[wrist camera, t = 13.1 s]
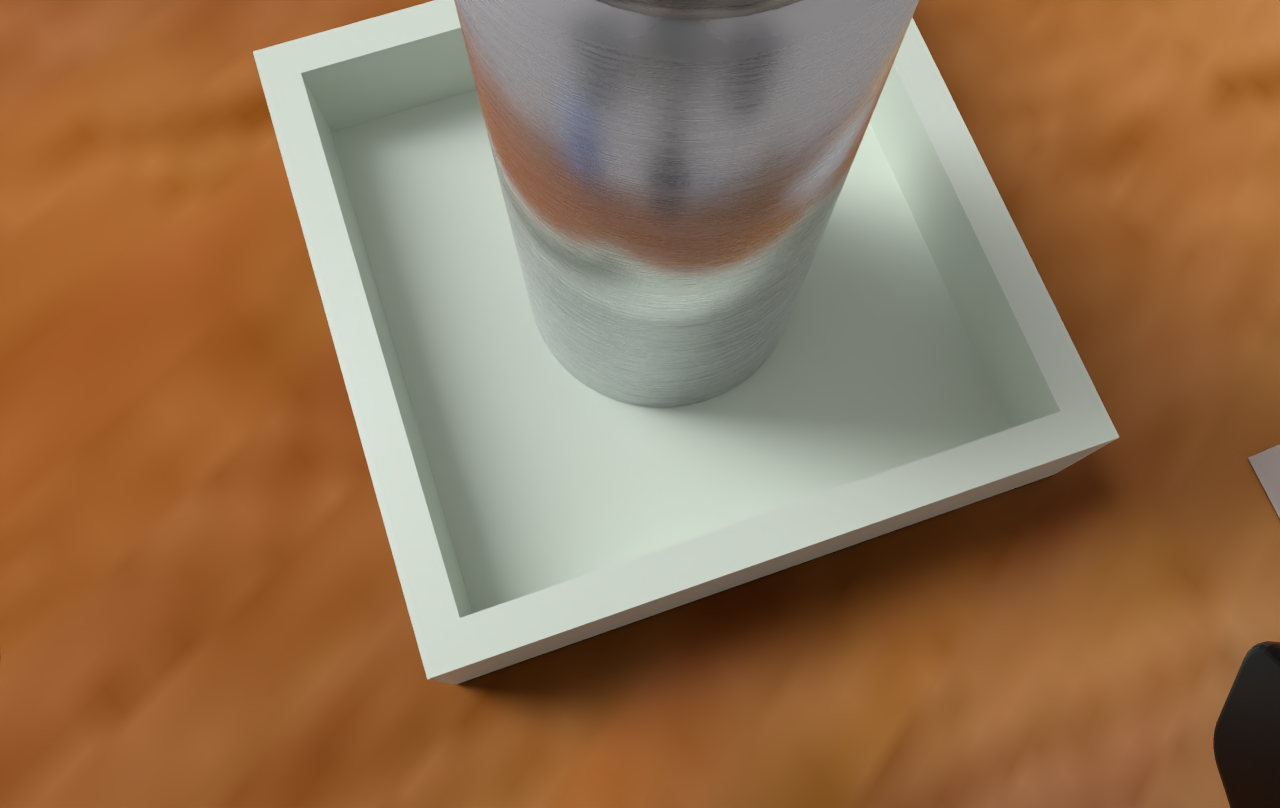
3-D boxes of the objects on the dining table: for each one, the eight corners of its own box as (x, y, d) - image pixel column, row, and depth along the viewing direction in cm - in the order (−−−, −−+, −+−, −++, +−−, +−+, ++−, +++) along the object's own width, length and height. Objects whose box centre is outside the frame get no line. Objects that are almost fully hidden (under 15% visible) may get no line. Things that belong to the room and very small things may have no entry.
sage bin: (1054, 474, 22) (1119, 437, 19) (456, 684, 20) (427, 678, 18) (822, -21, 25) (846, -116, 22) (298, 131, 24) (253, 51, 21)
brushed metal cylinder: (841, 247, 22) (1076, -260, 11) (701, 460, 21) (789, 149, 9) (624, 118, 23) (618, -484, 11) (475, 315, 22) (294, -139, 10)
